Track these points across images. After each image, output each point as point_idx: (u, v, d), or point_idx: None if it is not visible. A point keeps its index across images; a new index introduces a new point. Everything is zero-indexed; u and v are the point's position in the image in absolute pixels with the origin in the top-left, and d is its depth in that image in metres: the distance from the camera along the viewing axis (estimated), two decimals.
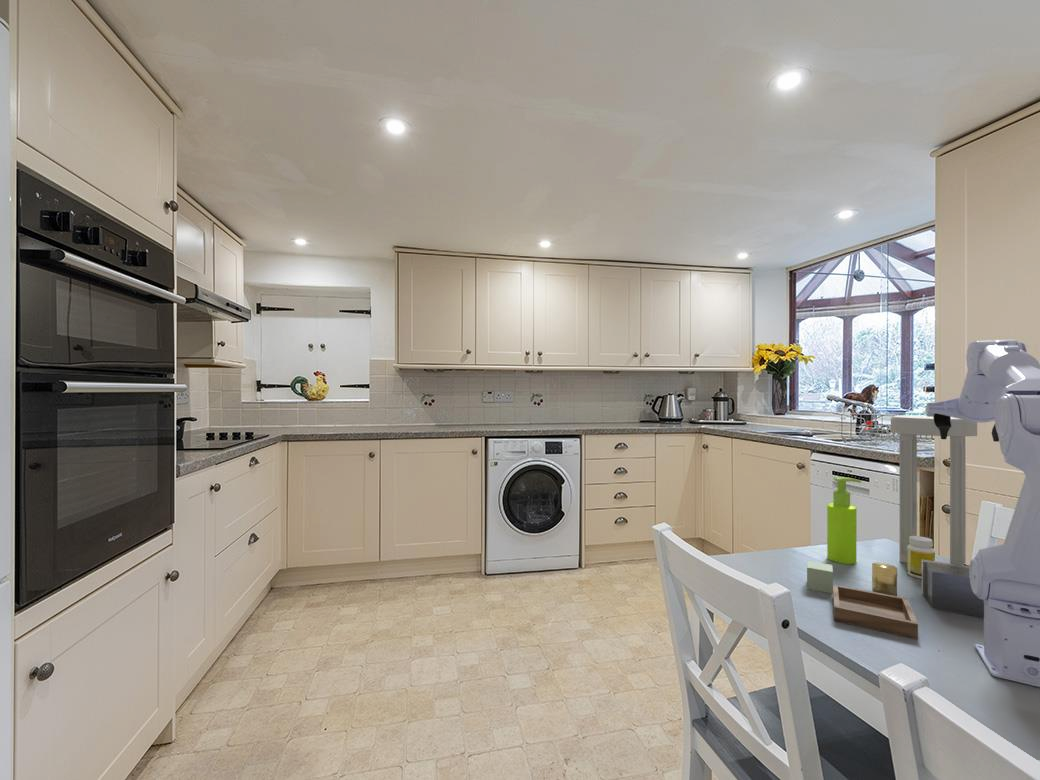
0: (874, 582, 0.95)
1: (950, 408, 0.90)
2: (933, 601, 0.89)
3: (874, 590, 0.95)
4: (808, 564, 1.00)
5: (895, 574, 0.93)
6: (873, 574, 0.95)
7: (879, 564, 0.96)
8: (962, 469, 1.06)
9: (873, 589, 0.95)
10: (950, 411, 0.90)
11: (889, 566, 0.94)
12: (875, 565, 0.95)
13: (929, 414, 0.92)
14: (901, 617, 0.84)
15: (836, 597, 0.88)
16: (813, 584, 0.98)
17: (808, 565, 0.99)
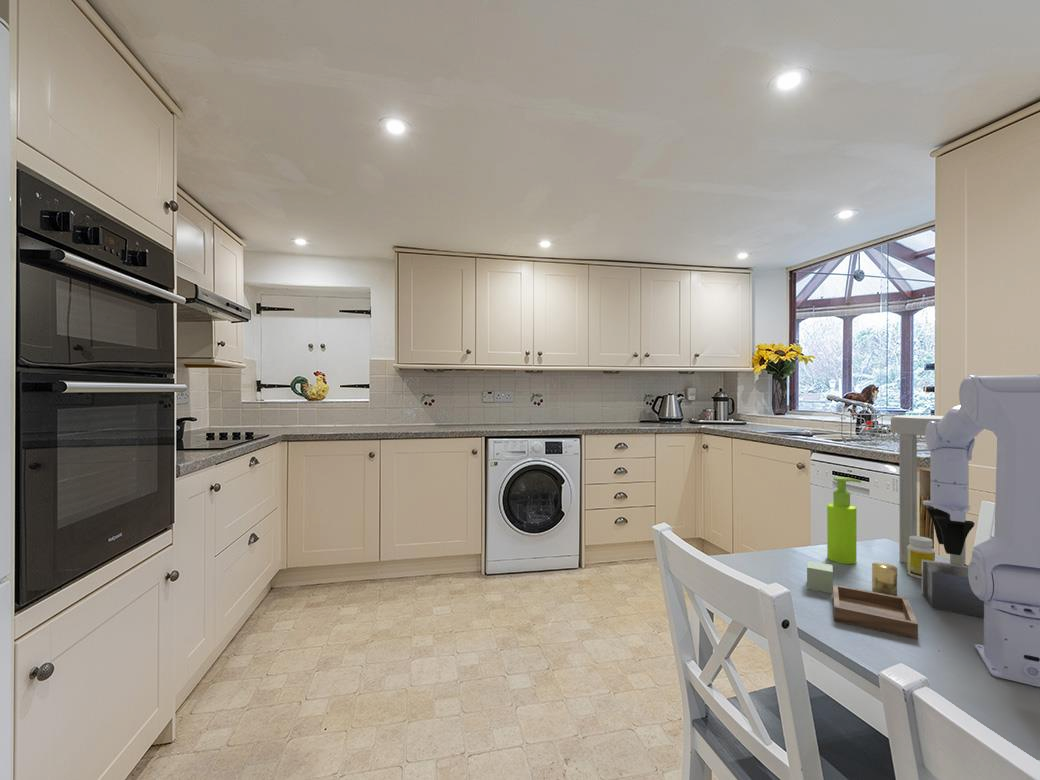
0: (874, 582, 0.95)
1: None
2: (933, 601, 0.89)
3: (874, 590, 0.95)
4: (808, 564, 1.00)
5: (895, 574, 0.93)
6: (873, 574, 0.95)
7: (879, 564, 0.96)
8: None
9: (873, 589, 0.95)
10: (958, 510, 0.91)
11: (889, 566, 0.94)
12: (875, 565, 0.95)
13: (964, 518, 0.88)
14: (901, 617, 0.84)
15: (836, 597, 0.88)
16: (813, 584, 0.98)
17: (808, 565, 0.99)
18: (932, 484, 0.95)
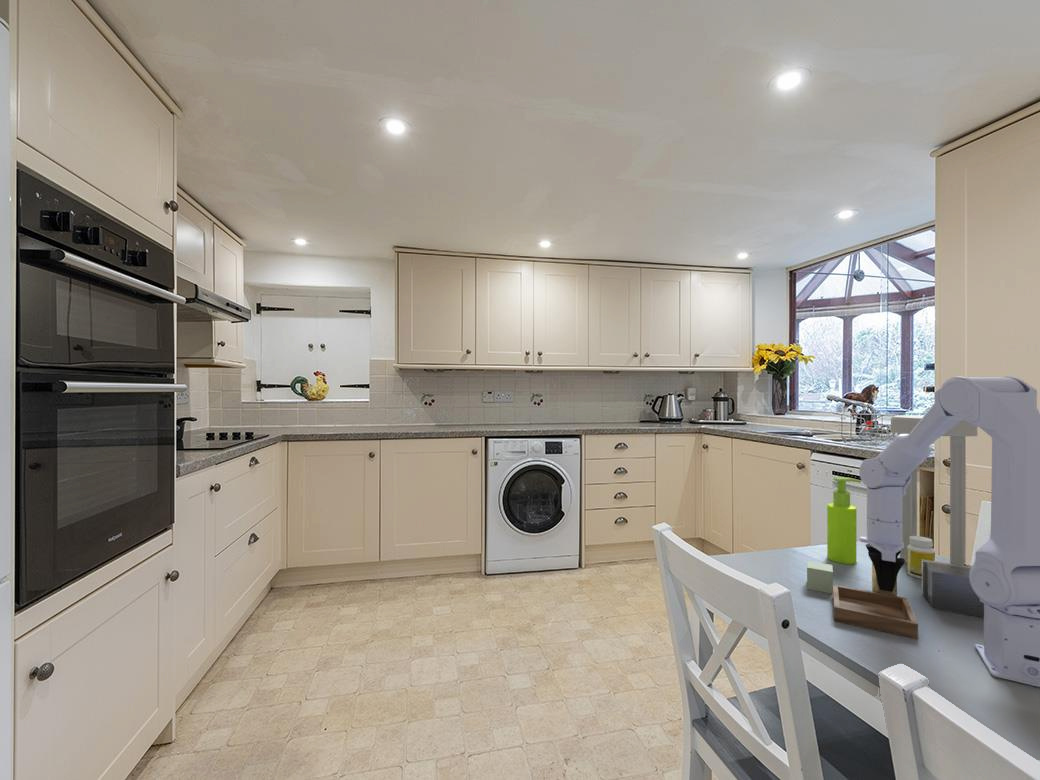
0: (874, 582, 0.95)
1: (888, 547, 0.91)
2: (933, 601, 0.89)
3: (874, 590, 0.95)
4: (808, 564, 1.00)
5: None
6: (873, 574, 0.95)
7: None
8: (962, 469, 1.06)
9: (873, 589, 0.95)
10: None
11: None
12: None
13: None
14: (901, 617, 0.84)
15: (836, 597, 0.88)
16: (813, 584, 0.98)
17: (808, 565, 0.99)
18: (868, 521, 0.95)
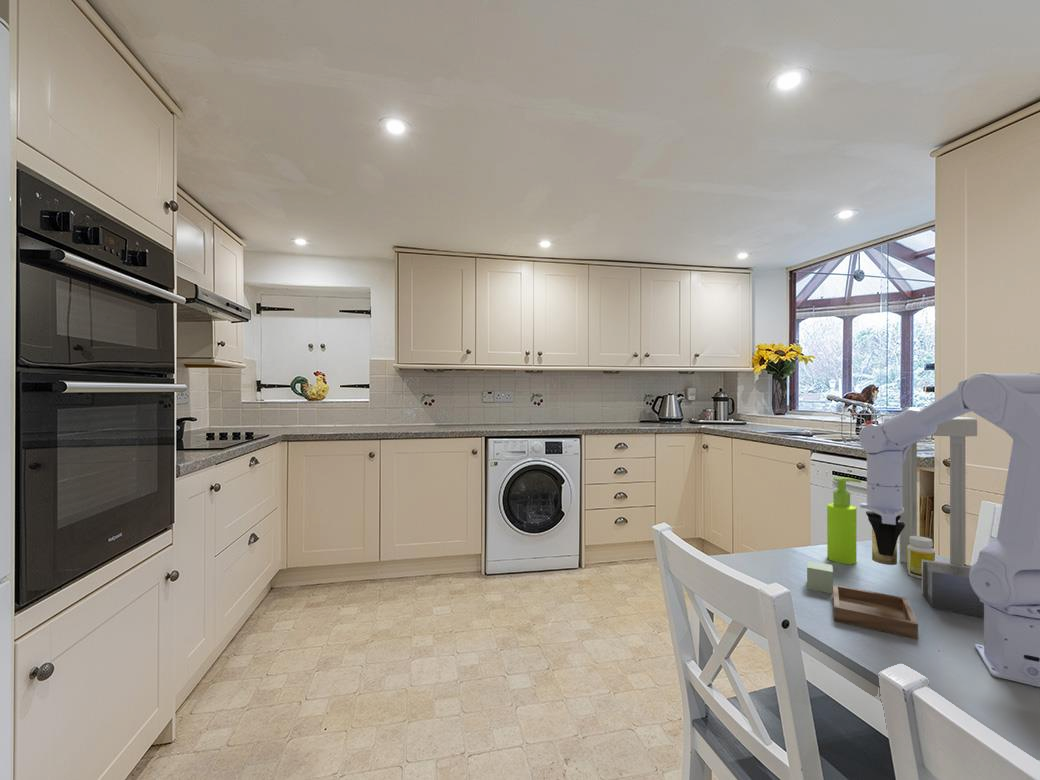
0: (874, 547, 0.95)
1: (888, 511, 0.91)
2: (933, 601, 0.89)
3: (874, 555, 0.95)
4: (808, 564, 1.00)
5: None
6: (873, 540, 0.95)
7: None
8: (962, 469, 1.06)
9: (873, 555, 0.95)
10: None
11: None
12: None
13: None
14: (901, 617, 0.84)
15: (836, 597, 0.88)
16: (814, 584, 0.98)
17: (808, 565, 0.99)
18: (868, 487, 0.95)
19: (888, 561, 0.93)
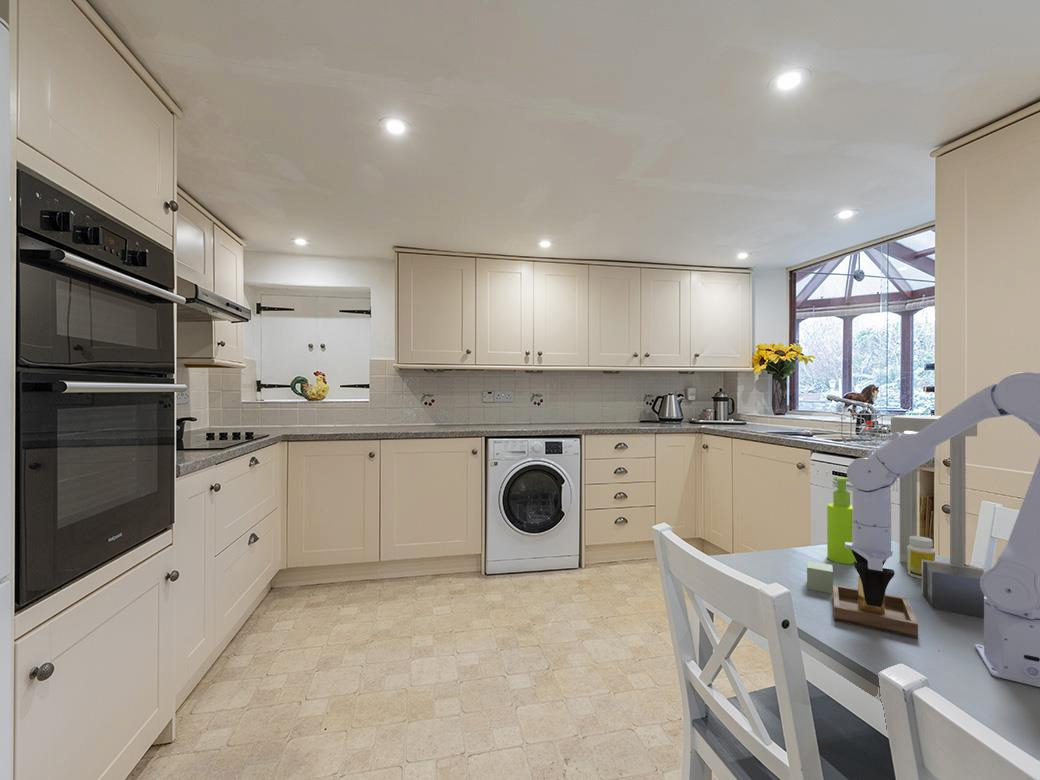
0: (860, 597, 0.86)
1: None
2: (933, 601, 0.89)
3: (860, 606, 0.86)
4: (808, 564, 1.00)
5: None
6: (859, 589, 0.87)
7: None
8: (962, 469, 1.06)
9: (859, 605, 0.87)
10: None
11: None
12: None
13: (882, 566, 0.80)
14: (901, 617, 0.84)
15: (836, 597, 0.88)
16: (814, 584, 0.98)
17: (808, 565, 0.99)
18: (853, 525, 0.87)
19: None
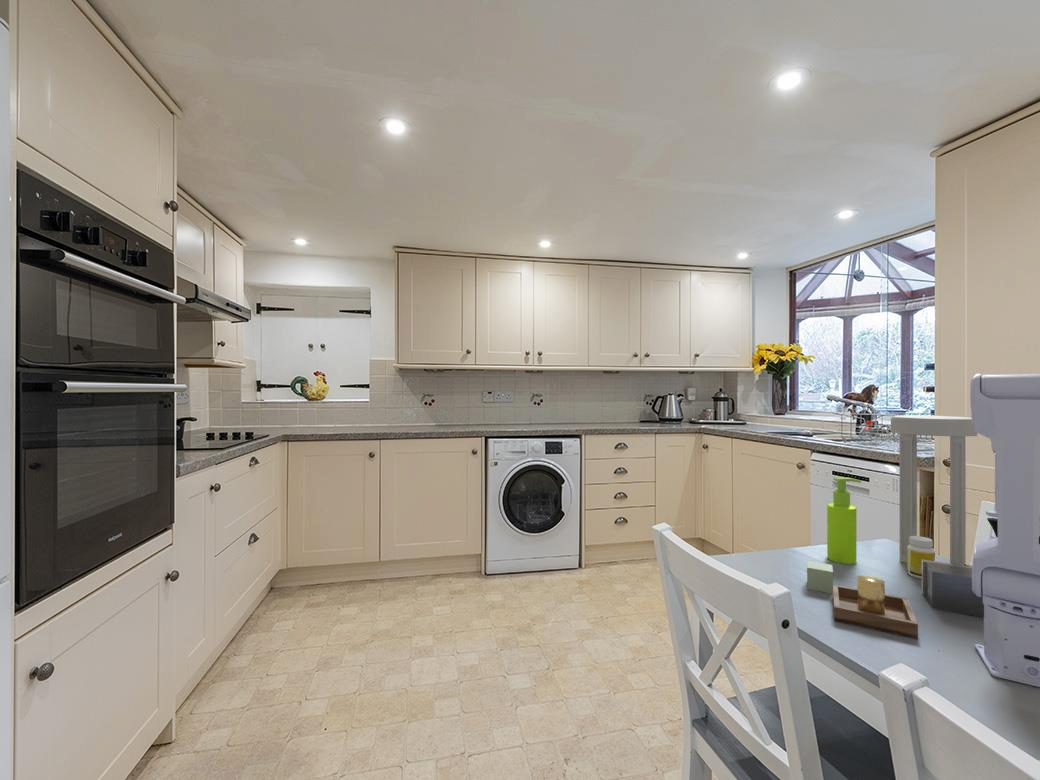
0: (860, 597, 0.86)
1: None
2: (933, 601, 0.89)
3: (860, 606, 0.86)
4: (808, 564, 1.00)
5: (882, 588, 0.85)
6: (859, 588, 0.87)
7: (865, 577, 0.87)
8: (962, 469, 1.06)
9: (859, 605, 0.87)
10: None
11: (875, 580, 0.86)
12: (861, 578, 0.87)
13: None
14: (901, 617, 0.84)
15: (836, 597, 0.88)
16: (814, 584, 0.98)
17: (808, 565, 0.99)
18: None
19: (875, 613, 0.84)
